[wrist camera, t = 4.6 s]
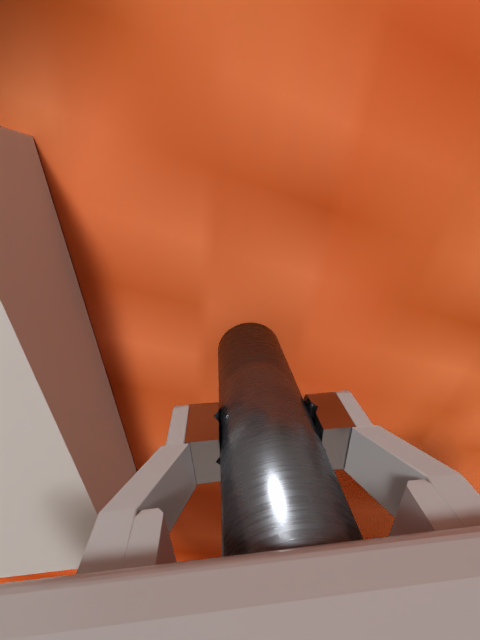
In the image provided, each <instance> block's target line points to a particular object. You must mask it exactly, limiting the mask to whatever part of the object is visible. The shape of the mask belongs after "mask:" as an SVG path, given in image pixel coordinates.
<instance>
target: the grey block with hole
mask: <svg viewBox="0 0 480 640" xmlns="http://www.w3.org/2000/svg"><path fill="white" fill-rule="evenodd" d="M136 472H137V471H136V468H135V464H134V461H133V458H132V455H131V451H130V448H129V445H128V442H127V439H126V435H125V432H124V429H123V426H122V423H121V419H120V416H119V413H118V410H117V406H116V403H115V400H114V397H113V394H112V390H111V387H110V384H109V381H108V378H107V374H106V371H105V368H104V365H103V361H102V358H101V355H100V352H99V349H98V345H97V342H96V339H95V336H94V333H93V329H92V326H91V323H90V320H89V316H88V313H87V310H86V307H85V304H84V300H83V297H82V294H81V291H80V288H79V284H78V281H77V278H76V275H75V272H74V268H73V265H72V262H71V259H70V255H69V252H68V249H67V246H66V243H65V239H64V236H63V233H62V230H61V227H60V223H59V220H58V217H57V214H56V210H55V207H54V204H53V201H52V198H51V194H50V191H49V188H48V185H47V182H46V178H45V175H44V172H43V169H42V165H41V162H40V159H39V156H38V153H37V149H36V146H35V143H34V140H33V137H32V136H29V135H26V134H23V133H20V132H17V131H14V130H10V129H7V128H4V127H1V126H0V578H2V577H11V576H19V575H27V574H36V573H44V572H52V571H61V570H69V569H77V568H79V565H80V562H81V560H82V557H83V554H84V551H85V549H86V546H87V543H88V541H89V538H90V535H91V533H92V530H93V527H94V525H95V522H96V519H97V517H98V514H99V512H100V511H101V510H102V509H103V508H104V507H105V506H106V505H107V504H108V502H109V501H110V500H111V499H112V498H113V497H114V496H115V495H116V494H117V493H118V492H119V491H120V490H121V489H122V487H123V486H124V485H125V484H126V483H127V482H128V481H129V480H130V479H131V478H132V477H133V476H134V475H135V473H136Z"/></svg>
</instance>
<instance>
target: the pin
mask: <svg viewBox="0 0 480 640" xmlns="http://www.w3.org/2000/svg"><path fill="white" fill-rule="evenodd" d="M218 371H219V408H220V452H221V455H220V476H221V529H222V557H224V556H232V555H241V554H249V553H257V552H265V551H274V550H282V549H290V548H298V547H306V546H315V545H323V544H331V543H339V542H348V541H356V540H363V538H362V535H361V533H360V531H359V528H358V526H357V524H356V521H355V519H354V517H353V514H352V512H351V510H350V507H349V505H348V503H347V500H346V498H345V496H344V493H343V491H342V489H341V486H340V484H339V482H338V479H337V477H336V475H335V472H334V470H333V468H332V465H331V463H330V461H329V458H328V456H327V454H326V451H325V449H324V447H323V444H322V442H321V440H320V437H319V435H318V433H317V430H316V428H315V426H314V423H313V421H312V419H311V416H310V414H309V412H308V409H307V407H306V405H305V402H304V400H303V398H302V395H301V393H300V391H299V388H298V386H297V384H296V381H295V379H294V377H293V374H292V372H291V370H290V367H289V365H288V363H287V360H286V358H285V356H284V353H283V351H282V349H281V346H280V344H279V342H278V339H277V337H276V336H275V334H274V333H273V332H272V331H271V330H270V329H269V328H267V327H266V326H264V325H261V324H257V323H243V324H240V325H237V326H235V327H233V328H231V329H230V330H228V331H227V332H226V333H225V334H224V336H223V337H222V339H221V341H220V343H219V347H218Z"/></svg>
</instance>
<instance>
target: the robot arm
mask: <svg viewBox="0 0 480 640" xmlns="http://www.w3.org/2000/svg"><path fill="white" fill-rule="evenodd" d="M304 402H305V405H306V407H307V409H308V412H309V414H310V416H311V419H312V421H313V423H314V426H315V428H316V430H317V433H318V435H319V437H320V440H321V442H322V444H323V447H324V449H325V451H326V454H327V456H328V458H329V461H330V463H331V465H332V468H333V470H335V469H344V470H345V471H346V472H347V473H348V474H349V475H350V476H351V477H352V478H353V479H354V480H355V481H356V482H357V483H358V484H359V485H361V486H362V487H363V488H364V489H365V490H366V491H367V492H368V493H369V494H370V495H371V496H372V497H373V498H374V499H375V500H376V501H378V502H379V503H380V504H381V505H382V506H383V507H384V508H385V509H386V510H387V511H388V512H389V513H390V514H391V515H392V516H394V517H395V520H394V523H393V526H392V529H391V531H390V534H389V537H381V538H373V539H364V540H356V541H348V542H339V543H331V544H323V545H315V546H306V547H298V548H290V549H282V550H274V551H265V552H257V553H249V554H241V555H232V556H224V557H216V558H208V559H199V560H191V561H183V562H177V561H176V558H175V554H174V550H173V546H172V543H171V539H170V535H169V533H170V531H171V529H172V528H173V526H174V524H175V522H176V521H177V519H178V517H179V515H180V514H181V512H182V510H183V509H184V507H185V505H186V503H187V502H188V500H189V498H190V497H191V495H192V493H193V491H194V490H195V488H196V484H203V483H210V482H218V481H221V476H220V455H221V452H220V408H219V402H217V403H201V404H190V405H175V407H174V408H173V412H172V417H171V422H170V427H169V432H168V437H167V442H166V446H161V447H160V448H159V449H158V450H157V451H156V452H155V453H154V454H153V455H152V456H151V457H150V458H149V460H148V461H147V462H146V463H145V464H144V465H143V466H142V467H141V468H140V469H139V470H138V471H137V472H136V473H135V475H134V476H133V477H132V478H131V479H130V480H129V481H128V482H127V483H126V484H125V485H124V486H123V487H122V489H121V490H120V491H119V492H118V493H117V494H116V495H115V496H114V497H113V498H112V499H111V500H110V501H109V502H108V504H107V505H106V506H105V507H104V508H103V509H102V510H101V511H100V512H99V514H98V517H97V519H96V522H95V525H94V527H93V530H92V533H91V535H90V538H89V541H88V543H87V546H86V549H85V551H84V554H83V557H82V560H81V562H80V565H79V568H78V570H77V573H76V575H67V576H59V577H51V578H43V579H34V580H26V581H18V582H9V583H1V584H0V640H480V495H479V494H478V493H477V492H476V490H475V489H474V488H473V487H472V486H471V485H470V484H469V482H468V481H467V480H466V479H465V478H464V477H463V476H462V474H460V473H459V472H457V471H455V470H453V469H452V468H450V467H448V466H447V465H445V464H443V463H442V462H440V461H438V460H436V459H435V458H433V457H431V456H430V455H428V454H426V453H425V452H423V451H421V450H419V449H418V448H416V447H414V446H413V445H411V444H409V443H408V442H406V441H404V440H403V439H401V438H399V437H397V436H396V435H394V434H392V433H391V432H389V431H387V430H386V429H384V428H382V427H380V426H379V425H373V424H372V422H371V421H370V420H369V418H368V417H367V415H366V414H365V412H364V411H363V409H362V408H361V407H360V405H359V404H358V402H357V401H356V399H355V398H354V396H353V395H352V394H351V392H350V391H348V390H345V391H335V392H327V393H317V394H307V395H305V397H304Z"/></svg>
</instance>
